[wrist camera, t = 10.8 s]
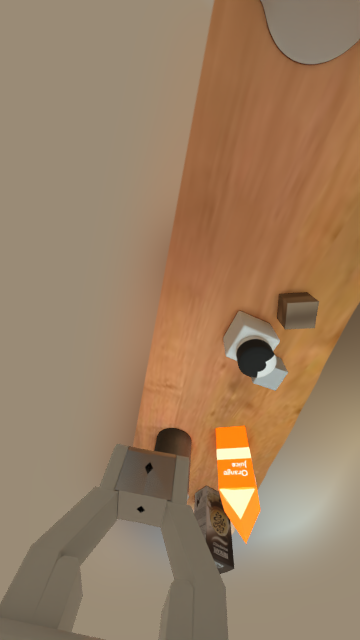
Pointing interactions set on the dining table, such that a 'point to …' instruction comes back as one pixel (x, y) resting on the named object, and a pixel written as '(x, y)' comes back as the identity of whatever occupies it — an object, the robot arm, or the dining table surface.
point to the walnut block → (297, 310)
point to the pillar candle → (174, 444)
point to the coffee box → (215, 527)
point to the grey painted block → (272, 376)
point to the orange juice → (237, 479)
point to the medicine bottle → (251, 345)
